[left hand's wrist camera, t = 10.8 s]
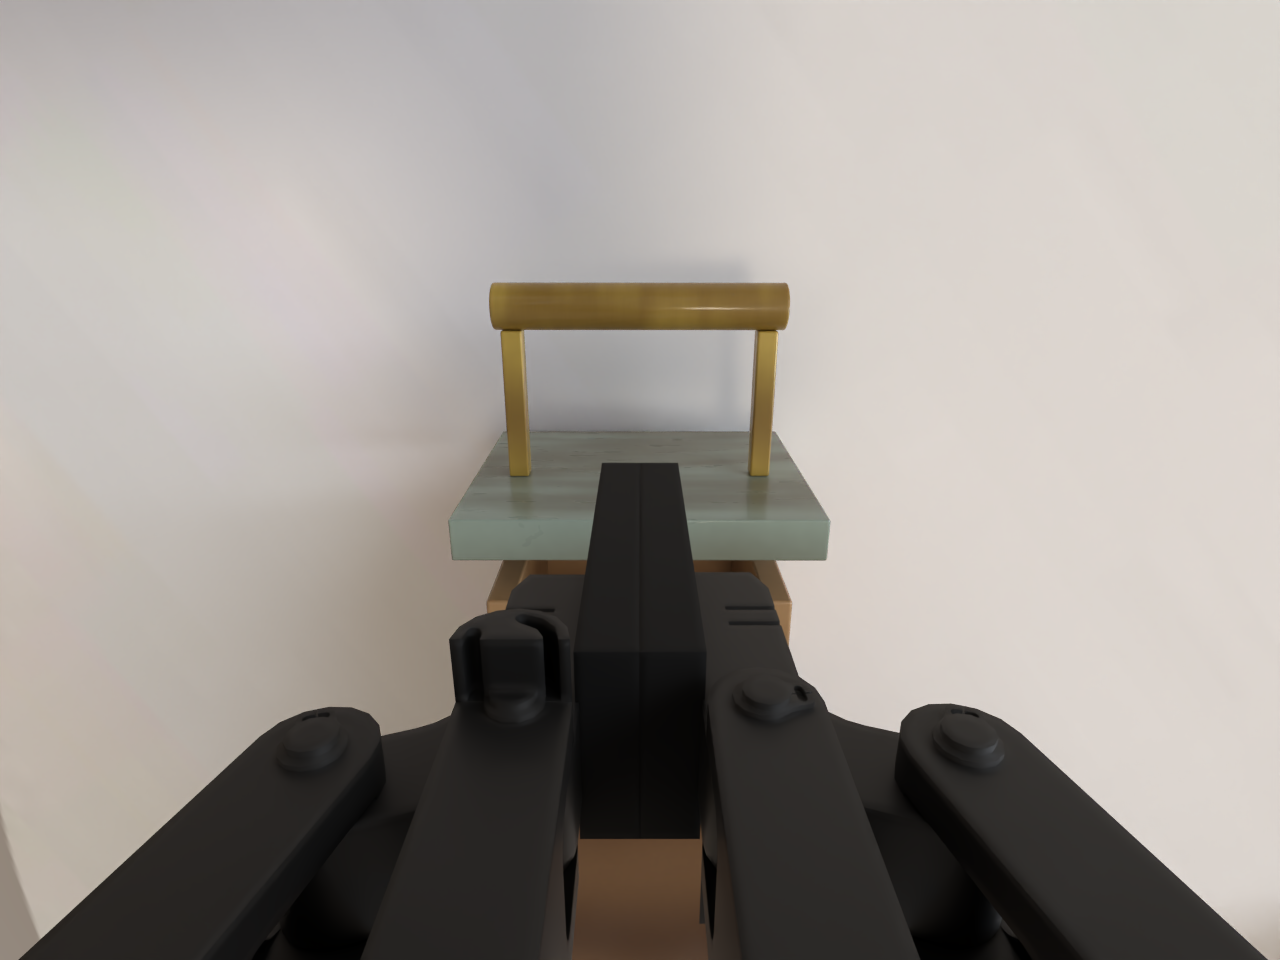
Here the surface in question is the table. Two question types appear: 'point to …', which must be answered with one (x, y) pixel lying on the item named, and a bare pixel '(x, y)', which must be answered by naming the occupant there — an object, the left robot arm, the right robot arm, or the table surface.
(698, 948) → the cabinet
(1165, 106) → the table surface
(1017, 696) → the table surface
